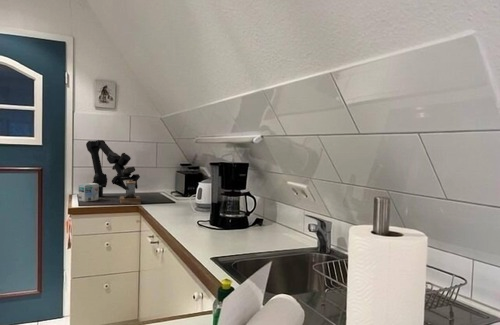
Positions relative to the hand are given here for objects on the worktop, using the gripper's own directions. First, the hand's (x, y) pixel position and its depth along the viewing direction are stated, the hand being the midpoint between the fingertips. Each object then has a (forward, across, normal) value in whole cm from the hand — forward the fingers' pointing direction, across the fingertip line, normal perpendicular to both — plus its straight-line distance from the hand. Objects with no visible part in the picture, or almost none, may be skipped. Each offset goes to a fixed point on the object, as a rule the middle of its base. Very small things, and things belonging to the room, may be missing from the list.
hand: (131, 189), depth 245 cm
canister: (+5, 0, +7) cm, 8 cm away
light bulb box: (-12, -14, +25) cm, 30 cm away
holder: (+5, 0, +7) cm, 9 cm away
